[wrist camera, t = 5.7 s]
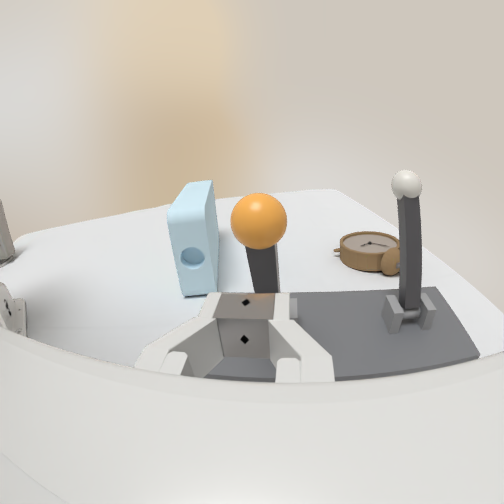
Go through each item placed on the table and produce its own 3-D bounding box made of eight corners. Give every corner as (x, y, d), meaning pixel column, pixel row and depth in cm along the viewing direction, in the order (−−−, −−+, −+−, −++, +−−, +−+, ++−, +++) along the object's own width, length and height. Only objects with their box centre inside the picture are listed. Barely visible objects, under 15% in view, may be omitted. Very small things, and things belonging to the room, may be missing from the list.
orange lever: (288, 336, 20) (286, 219, 11) (254, 336, 20) (221, 221, 11) (289, 306, 21) (285, 180, 12) (256, 306, 22) (230, 183, 13)
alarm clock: (354, 228, 53) (424, 232, 42) (356, 250, 54) (424, 258, 43) (326, 246, 46) (409, 254, 35) (329, 272, 48) (408, 285, 37)
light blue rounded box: (193, 241, 60) (184, 182, 55) (219, 238, 61) (212, 178, 55) (178, 301, 39) (159, 214, 34) (217, 297, 40) (203, 208, 34)
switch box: (443, 412, 17) (490, 334, 13) (207, 426, 20) (178, 351, 16) (416, 344, 26) (440, 269, 22) (227, 351, 29) (214, 274, 25)
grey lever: (428, 321, 17) (424, 167, 17) (399, 324, 18) (396, 164, 18) (415, 314, 20) (412, 175, 20) (388, 316, 20) (385, 173, 20)
